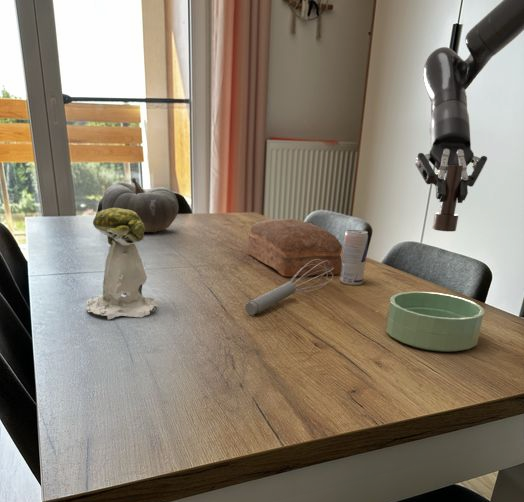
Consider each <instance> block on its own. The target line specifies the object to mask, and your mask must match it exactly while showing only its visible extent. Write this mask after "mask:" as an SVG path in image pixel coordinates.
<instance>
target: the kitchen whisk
mask: <svg viewBox="0 0 524 502" xmlns="http://www.w3.org/2000/svg"><path fill="white" fill-rule="evenodd" d="M314 260H319V259H314ZM312 261H313V260H312ZM320 261H322V260H320ZM310 262H311V261H310ZM310 262H309V263H310ZM323 262H325V261H323ZM323 262H321V263H323ZM321 263H319V264H321ZM307 264H308V263H307ZM307 264H306V265H307ZM319 264H318V265H319ZM323 264H324V263H323ZM306 265H305V266H304V267H306ZM311 265H316V266H317V264H311ZM328 265H329V261H328ZM307 266H309V265H307ZM316 266H315V267H316ZM319 266H321V265H319ZM324 266H325V264H324ZM304 267H303V268H304ZM322 267H323V266H322ZM327 267H328V266H327ZM303 268H302V269H303ZM313 268H314V267H313ZM313 268H312V269H313ZM324 268H326V267H324ZM302 269H300V270H299V271H298V272H297V273H296V274H298V273H299V272H300V271H301V270H302ZM312 269H311V270H312ZM328 269H330V268H326V269H324V270H325V271H326V273H327V270H328ZM331 270H332V269H331ZM331 270H330V272H331ZM309 271H310V270H309ZM309 271H308V272H309ZM320 271H322V270H320ZM308 272H307V273H308ZM317 272H319V271H317ZM328 272H329V270H328ZM314 273H316V272H314ZM296 274H295V275H296ZM305 274H306V273H305ZM305 274H304V275H305ZM312 274H313V273H312ZM324 274H325V272H324ZM324 274H322V275H316V276H315V277H312V278H311V279H308V280H306V281H304V282H302V283H299V284H297V285H295V284H296V283H298V282H299V281H301V280H303V279H304V278H307V277H310V276H309V275H307V276H304V275H303V276H299V278H298V279H297V280H295V278H296V277H298V276H297V275H296V276H295V275H294V276H293V277H291V279H290V281H287V282H285V283H283V284H281V285H279V286H278V287H276V288H273V289H272V290H271V289H270V290H269V291H267V292H266V293H264V294H261V295H259V296H258V297H256V298H254V299H252V300H249V301H247V302H246V303H245V304H244V305H243V307H242V312H243V315H244V316H245V317H247V318H251V317H254V316H255V315H258V314H259V313H261V312H263V311H265V310H266V309H268V308H270V307H273V306H274V305H276V304H277V303H279V302H281V301H283V300H285V299H286V298H288V297H290V296H292V295H294V294H295V293H309V292H313V291H318V290H320V289H322V288H323V287H324V286H325V285H326V284H328V283H330V282H331V281H332V280H333V279H334V274H332V272H331V274H332V276H331V277H332V278H331V279H330V280H328V279H326V280H325V282H324V283H321V284H317V283H318V281H320V280H321V278H322V277H323V276H325V275H324ZM310 275H311V274H310ZM311 276H312V275H311ZM328 276H329V275H328V274H327V275H326V278H328ZM319 277H320V278H319ZM316 278H319V279H318V280H317V281H315V282H314V283H312V284H311V285H309V286H306V287H304V288H297V287H298V286H301V285H303V284H305V283H309V282H310V281H312V280H314V279H316ZM294 280H295V281H294ZM293 281H294V282H293ZM316 284H317V285H316ZM313 285H314V286H313ZM319 286H320V287H319ZM316 287H319V288H316ZM312 288H316V289H312ZM306 289H311V290H306ZM302 290H305V291H302ZM245 312H246V313H247V314H248V315H247V314H246V313H245Z"/></svg>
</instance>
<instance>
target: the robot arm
mask: <svg viewBox="0 0 524 502" xmlns="http://www.w3.org/2000/svg"><path fill="white" fill-rule="evenodd" d="M523 31H524V0H502V1H501V2H499V4H497V5H495V6H494V7H493V9H492V10H490V12H488V13H487V14H486V15H485V16H484V17H482V19H481V20H479V22H477V23H476V24H475V25H474V26H473V27H472V28H470V30H469V31H468V32H467V33H466V35H465V39H464V40H465V41H464V42H465V45H466V48H467V50H468V52H469V55H468V56H467V58H466V59H465V60H464V59H463V58H462V57H461V56H460V55H458V54H457V52H456V51H454V50H453V49H452V48H450V47H447V46H442V47H441V46H440V47H438V48H436V49H435V50H433V51H432V52H431V53H429V56H428V57H427V58H426V60H425V63H424V66H423V72H422V73H423V74H422V75H423V83H424V84H425V89H426V92H427V95H428V98H429V101H430V123H429V143H430V144H429V145H430V149H429V152H428V153H426V154H424V153H423V152H419V153H418V154H417V157H416V161H415V163H414V164H415V167H416V168H417V170H418V172H419V174H420V175H421V178H423V180H424V182H425V184H427V185H431V184H432V185H434V187H435V198H436V199H437V200H438V202H439V203H441V202H444V199H445V197H446V180H445V177H446V171H447V165H463V169H462V175H461V180H460V186H459V191H458V197H457V204H463V202H464V201H466V198H467V196H468V194H469V192H468V191H469V190H468V187H470V188H472V187H474V185H475V184H476V182H477V180H478V178H479V176H480V175H481V172H482V171H483V169H484V167H485V165H486V163H487V161H488V156H487V155H482V156H481V157H478V156H476V155H475V154H474V152H473V150H472V148H471V147H472V146H471V145H472V141H471V125H470V124H471V123H470V114H469V111H468V96H467V89H468V88H470V86H471V85H472V83H473V82H474V81H475V80H476V78H477V77H478V75H479V74H480V73H481V72H482V70H483V69H484V68H485V67H486V65H487V64H488V63H489V62H490V60H491V59H492V58H493V57H495V56H496V55H497V54H499V52H501V51H502V50H503V49H504V48H505V47H507V46H508V45H509V44H510V43H512V42H513V41H514V40H515V39H516V38H517V37H518V36H519V35H521V33H523ZM431 164H432V165H433V167H435V169H436V170H437V171H436V172H435V170H434V169H433V167H432V165H431ZM470 164H472V165H471V167H472V170H473V171H472V172H471V174H470V175H468V170H467V169H468V166H469V165H470Z"/></svg>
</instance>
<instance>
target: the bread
mask: <svg viewBox="0 0 524 502" xmlns="http://www.w3.org/2000/svg"><path fill="white" fill-rule="evenodd" d="M246 239H247V240H246V252H247V253H248V254H249V255H250V256H252V257H253V258H255V259H257V260H258V261H259V262H261V263H263V264H265V265H267V266H268V267H270V268H272V269H274V270H275V271H277V272H278V274H280V275H281V276H283V277H288V278H289V277H290V278H294V277H295V276H296V275H297V276H296V277H302V276H303V275H304V274H305V273H306V274H305V275H304V276H303V277H305V276H307V275H309V276H307V277H310V276H319V275H321V276H322V274H324V272H325V274H324V275H323V276H327V274H328V276H331V275H332V274H333V275H338V274H341V267H342V256H341V254H342V253H341V252H343V245H342V243H341V242H340V241H339V239H338V237H337V236H336V235H334V234H332V233H331V232H330V231H328V230H326V229H324V228H323V227H321V226H318V225H315V224H313V223H311V222H308V221H304V220H301V219H294V218H272V219H263V220H261V221H258V222H256V223H255V224H253V225H251V226H250V228H249V230H248V238H246ZM314 259H319V260H314ZM312 260H313V261H312ZM320 260H322V261H320ZM310 261H311V262H310ZM323 261H325V262H323ZM328 261H329V265H328ZM309 262H310V263H309ZM321 262H323V263H324V264H325V266H324V264H323V263H321ZM307 263H308V264H307ZM319 263H321V264H319ZM306 264H307V265H309V266H307V265H306ZM311 264H317V266H316V265H311ZM318 264H319V265H321V266H319V265H318ZM305 265H306V267H304V266H305ZM315 266H316V267H315ZM322 266H323V267H322ZM327 266H328V267H327ZM303 267H304V268H303ZM313 267H314V268H313ZM324 267H326V268H330V269H328V270H329V272H328V270H327V273H326V271H325V270H324V269H326V268H324ZM302 268H303V269H302ZM312 268H313V269H312ZM300 269H302V270H301V271H300V272H299V273H298V274H296V273H297V272H298V271H299V270H300ZM311 269H312V270H311ZM331 269H332V270H331ZM309 270H310V271H309ZM320 270H322V271H320ZM330 270H331V272H332V274H331V272H330ZM308 271H309V272H308ZM317 271H319V272H317ZM307 272H308V273H307ZM314 272H316V273H314ZM312 273H313V274H312ZM295 274H296V275H295ZM310 274H311V275H310ZM294 275H295V276H294ZM333 275H332V276H333ZM293 276H294V277H293Z"/></svg>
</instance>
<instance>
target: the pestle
mask: <svg viewBox="0 0 524 502" xmlns="http://www.w3.org/2000/svg"><path fill="white" fill-rule="evenodd" d="M462 169H463V165H447V171H446V173H445V177H444V180H446V197H445V199H444V202H440V207H439V211H438V212H435V213H434V217H433V224H432V230H434V231H439V232H457V225H458V222H459V214H458V213H456V208H457V204H458V201H457V197H458V191H459V186H460V180H461V175H462Z"/></svg>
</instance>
